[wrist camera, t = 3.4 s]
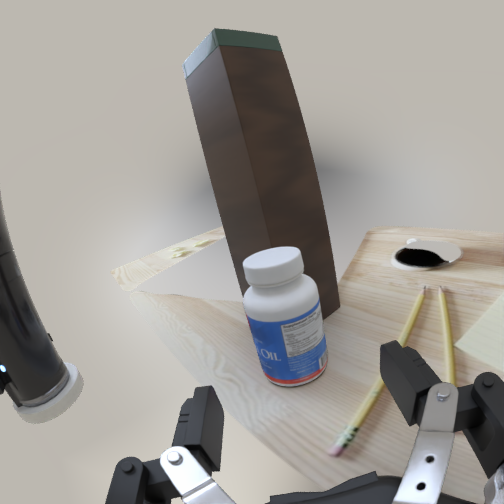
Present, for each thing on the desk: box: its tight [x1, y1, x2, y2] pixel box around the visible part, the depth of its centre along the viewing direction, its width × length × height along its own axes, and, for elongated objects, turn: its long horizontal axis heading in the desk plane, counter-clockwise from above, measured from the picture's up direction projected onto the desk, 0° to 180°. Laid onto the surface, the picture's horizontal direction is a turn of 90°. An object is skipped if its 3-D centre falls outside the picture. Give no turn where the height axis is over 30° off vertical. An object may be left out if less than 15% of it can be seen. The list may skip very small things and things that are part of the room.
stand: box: [186, 46, 340, 319], centre depth 26 cm, size 7×7×27 cm
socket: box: [182, 28, 282, 79], centre depth 23 cm, size 7×7×2 cm
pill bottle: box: [243, 247, 328, 386], centre depth 20 cm, size 6×5×10 cm
